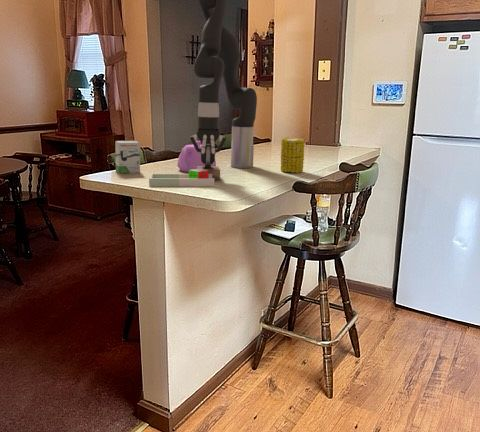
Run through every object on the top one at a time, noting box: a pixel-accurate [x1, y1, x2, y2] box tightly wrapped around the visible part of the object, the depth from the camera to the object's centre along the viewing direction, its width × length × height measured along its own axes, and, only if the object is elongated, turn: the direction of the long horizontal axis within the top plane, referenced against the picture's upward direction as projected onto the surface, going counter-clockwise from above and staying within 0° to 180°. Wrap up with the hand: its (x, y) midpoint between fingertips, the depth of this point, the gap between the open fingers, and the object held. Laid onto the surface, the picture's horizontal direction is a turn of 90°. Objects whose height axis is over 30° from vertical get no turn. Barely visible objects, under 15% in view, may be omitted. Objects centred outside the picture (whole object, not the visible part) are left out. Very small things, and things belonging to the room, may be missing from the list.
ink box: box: [115, 140, 141, 174], centre depth 183 cm, size 9×5×12 cm, turn 118°
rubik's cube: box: [188, 169, 209, 178], centre depth 165 cm, size 5×5×5 cm
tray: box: [148, 173, 180, 187], centre depth 164 cm, size 10×10×2 cm
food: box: [280, 136, 305, 174], centre depth 194 cm, size 15×12×10 cm
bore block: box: [197, 165, 221, 182], centre depth 175 cm, size 8×8×4 cm
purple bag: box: [177, 140, 217, 173], centre depth 191 cm, size 22×16×12 cm
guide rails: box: [177, 173, 215, 187], centre depth 166 cm, size 12×10×2 cm
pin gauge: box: [205, 144, 211, 169], centre depth 173 cm, size 2×2×10 cm
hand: (207, 163), depth 174 cm, fingers closed on pin gauge, 2 cm apart
